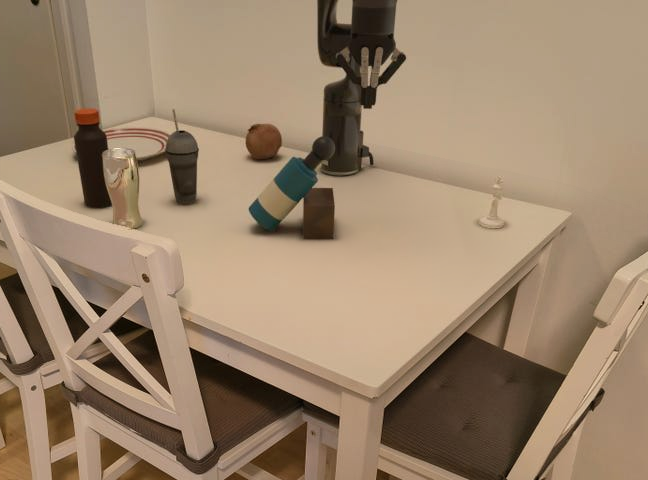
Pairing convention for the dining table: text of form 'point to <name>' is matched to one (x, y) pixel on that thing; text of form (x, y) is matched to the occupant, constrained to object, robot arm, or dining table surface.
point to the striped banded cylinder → (290, 185)
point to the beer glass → (122, 185)
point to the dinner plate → (137, 141)
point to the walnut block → (318, 214)
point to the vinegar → (91, 157)
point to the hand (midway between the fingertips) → (367, 107)
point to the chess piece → (494, 208)
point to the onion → (263, 141)
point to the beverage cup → (183, 164)
